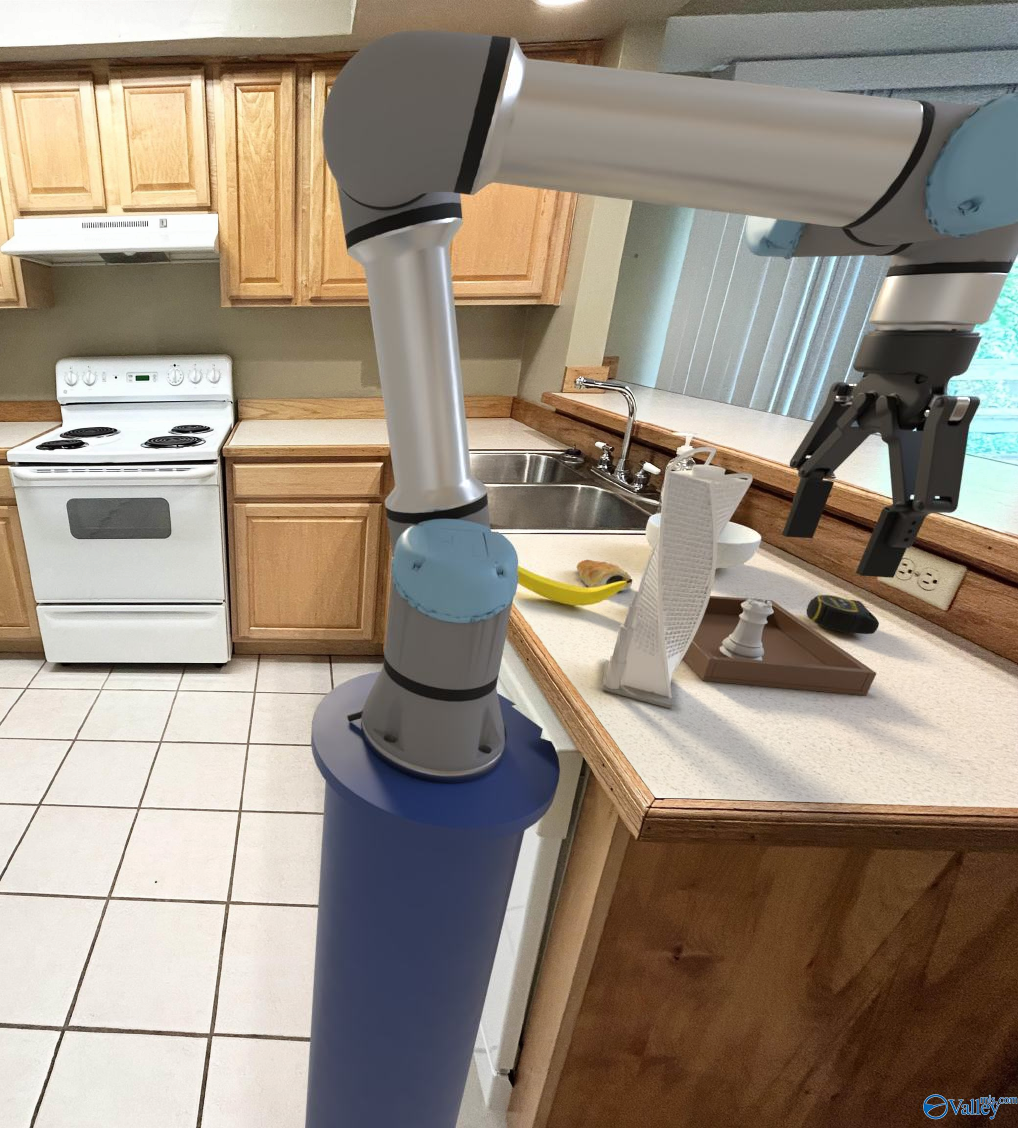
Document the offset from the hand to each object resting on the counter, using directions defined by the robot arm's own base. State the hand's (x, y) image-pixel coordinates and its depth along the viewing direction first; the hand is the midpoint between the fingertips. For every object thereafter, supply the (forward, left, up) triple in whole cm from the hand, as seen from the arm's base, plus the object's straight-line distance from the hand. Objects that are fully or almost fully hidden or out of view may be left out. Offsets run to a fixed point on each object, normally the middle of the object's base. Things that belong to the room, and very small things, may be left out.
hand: (832, 554), depth 62 cm
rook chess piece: (0, +8, -17) cm, 19 cm away
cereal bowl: (+11, +44, -18) cm, 49 cm away
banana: (-18, +23, -18) cm, 34 cm away
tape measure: (+20, +21, -18) cm, 34 cm away
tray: (+2, +12, -18) cm, 22 cm away
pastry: (-9, +31, -18) cm, 37 cm away
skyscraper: (-14, 0, -18) cm, 23 cm away
